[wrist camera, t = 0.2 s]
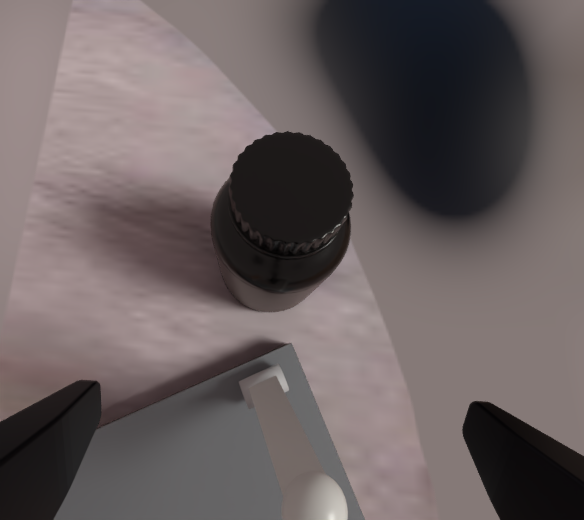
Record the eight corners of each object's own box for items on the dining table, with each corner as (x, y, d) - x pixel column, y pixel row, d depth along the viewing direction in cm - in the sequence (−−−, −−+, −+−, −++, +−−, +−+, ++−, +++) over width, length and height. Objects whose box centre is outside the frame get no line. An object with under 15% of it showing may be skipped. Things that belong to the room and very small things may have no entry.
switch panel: (354, 505, 21) (365, 521, 19) (93, 657, 18) (75, 694, 16) (287, 343, 23) (291, 343, 21) (41, 453, 20) (19, 463, 18)
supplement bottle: (320, 312, 24) (389, 276, 12) (220, 314, 23) (194, 278, 11) (315, 219, 26) (370, 112, 14) (222, 218, 25) (200, 103, 13)
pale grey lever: (285, 385, 21) (369, 546, 11) (248, 403, 20) (301, 588, 10) (274, 354, 20) (351, 493, 10) (235, 371, 19) (279, 534, 10)
